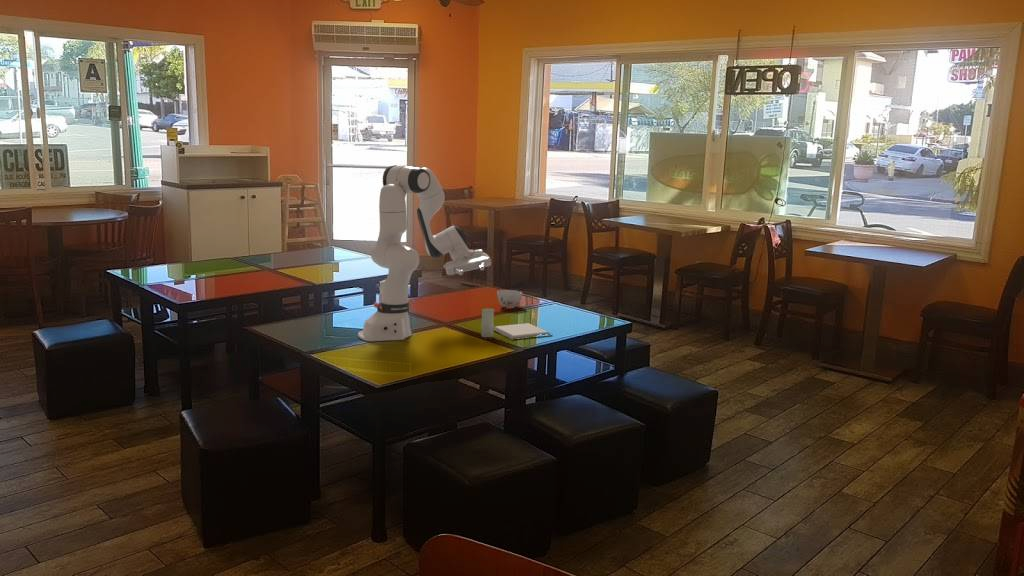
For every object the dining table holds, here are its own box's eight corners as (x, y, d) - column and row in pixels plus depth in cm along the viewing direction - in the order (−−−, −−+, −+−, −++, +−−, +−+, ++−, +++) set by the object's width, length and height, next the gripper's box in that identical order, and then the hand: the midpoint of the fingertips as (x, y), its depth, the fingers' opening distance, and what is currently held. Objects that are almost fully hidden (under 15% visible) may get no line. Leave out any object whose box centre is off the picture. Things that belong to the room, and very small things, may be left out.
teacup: (513, 311, 386) (513, 295, 385) (491, 308, 393) (492, 292, 391) (528, 306, 399) (529, 290, 397) (507, 303, 405) (508, 287, 404)
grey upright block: (484, 338, 334) (485, 311, 331) (479, 336, 338) (480, 308, 336) (495, 337, 336) (495, 310, 334) (489, 335, 340) (490, 307, 338)
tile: (511, 340, 333) (511, 336, 332) (490, 329, 350) (490, 326, 350) (552, 335, 342) (552, 332, 342) (529, 325, 359) (529, 322, 359)
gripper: (440, 258, 349) (447, 269, 337) (485, 248, 353) (493, 259, 341) (443, 271, 352) (449, 282, 340) (486, 261, 356) (495, 272, 344)
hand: (472, 270), depth 340 cm, fingers open, 8 cm apart
